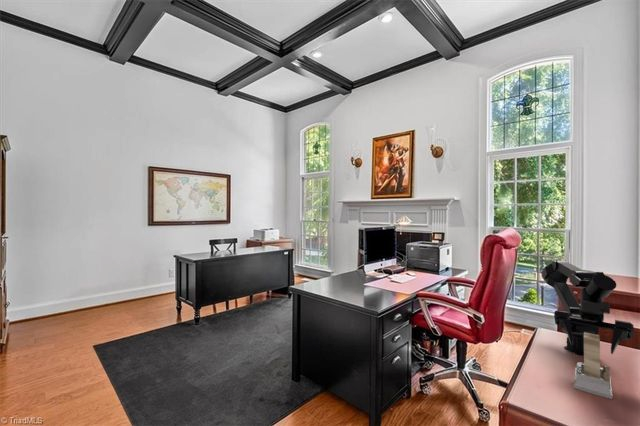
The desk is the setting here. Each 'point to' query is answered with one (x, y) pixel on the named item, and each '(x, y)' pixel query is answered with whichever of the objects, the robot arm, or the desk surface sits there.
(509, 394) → the desk surface
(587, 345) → the tan wooden block
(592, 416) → the desk surface
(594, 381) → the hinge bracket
